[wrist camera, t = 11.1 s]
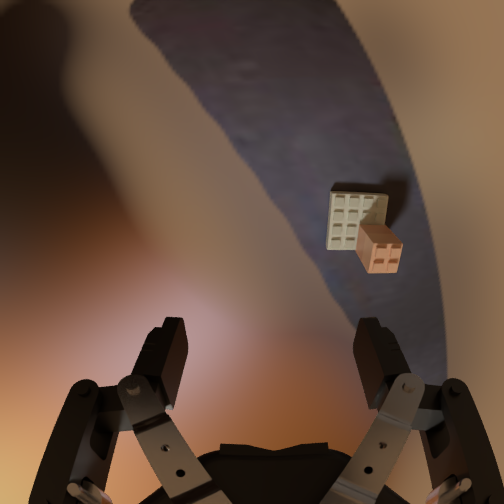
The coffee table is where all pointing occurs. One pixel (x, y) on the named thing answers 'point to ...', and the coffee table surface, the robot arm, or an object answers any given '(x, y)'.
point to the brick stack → (378, 248)
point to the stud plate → (352, 216)
